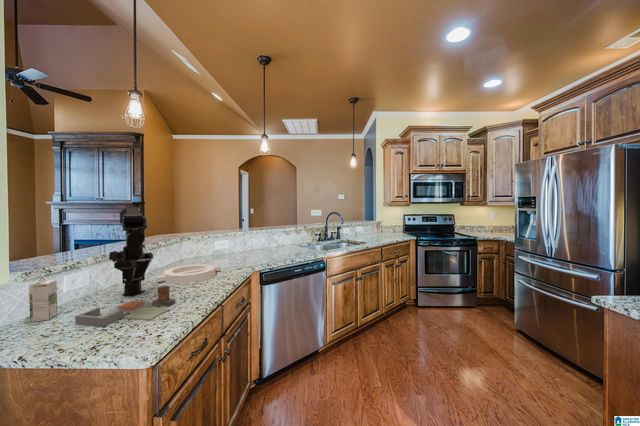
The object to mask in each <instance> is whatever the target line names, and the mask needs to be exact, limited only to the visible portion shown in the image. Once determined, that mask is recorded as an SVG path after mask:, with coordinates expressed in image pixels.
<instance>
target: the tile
mask: <svg viewBox="0 0 640 426" xmlns="http://www.w3.org/2000/svg"><path fill="white" fill-rule="evenodd" d="M143 304H144V303H143V301H140V300H130V301H126V302H124V303H121V304H119V305H118V309H117V311H118V310H121V309H124V311H132V309H133V310H135V309H137V308H139V307H141V306H143Z"/></svg>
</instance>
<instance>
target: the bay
mask: <svg viewBox="0 0 640 426" xmlns="http://www.w3.org/2000/svg"><path fill="white" fill-rule="evenodd" d="M124 311H125V310H124V309H121V310H118V309H117V311H114V312H111V313H109V314H107V315H105V316H101V308H100V307H95V308H93V309H90V310H88V311H85V312H83V313H80V314H77V315H75V316H74V320H75V322H74V323H75V325H80V326H93V327H106V326H107V325H110V324H112V323H114V322H117V321H119V320H121V319H124V318H123V317H124V316H125V312H124Z"/></svg>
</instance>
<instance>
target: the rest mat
mask: <svg viewBox="0 0 640 426" xmlns="http://www.w3.org/2000/svg"><path fill="white" fill-rule="evenodd" d="M168 311H170V308H165V307H164V308H163V307H152V306H151V307H150V306H144V307H142V308H139V309H137V310H135V311H134V312H131V313H129V314H127V315H124V317H123V318H122V319H129V320H142V321H152V320H154V319H155V318H157V317H160V316H162V315H163V314H165V313H166V312H168Z"/></svg>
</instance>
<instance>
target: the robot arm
mask: <svg viewBox="0 0 640 426" xmlns="http://www.w3.org/2000/svg"><path fill="white" fill-rule="evenodd" d="M123 208H124V209H123V210H121V211H119V224H121V228H122V232H125V246H124V247H123V248H122V250H121V251H116V250H114V251H110V252H109V254H108V259H109V260H110V261H112V263H113V267H114V268H113V269H116V270H117V271H120V272H122V274H121V277H122V280H121V281H122V284H124V286H123V287H124V289H123V291H124V293H122V296H128V297H129V296H131V297H134V296H137V295H140V294H142V293H145V290H142V282H143V281H145V280H146V278H145V274H146V271H148V268H149V266H150V263H151V262H152V259H154V253H152V252H144V248H145V247H146V244H144V242H145V240H146V238H145V235H144V233H143V231H144V230H146V229H147V228H148V222H147V218H146V216H145V215H143V213H142V212H141V211H140V210H139V209H138V206H136V205H127V206H126V205H125V206H124V207H123ZM142 230H143V231H142Z"/></svg>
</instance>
